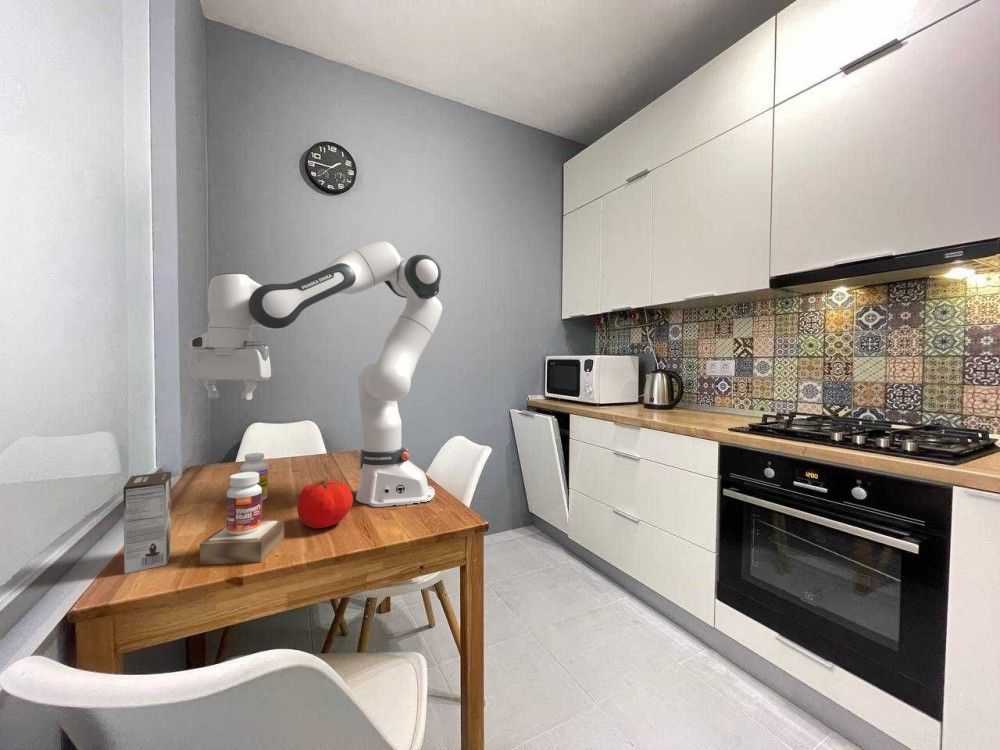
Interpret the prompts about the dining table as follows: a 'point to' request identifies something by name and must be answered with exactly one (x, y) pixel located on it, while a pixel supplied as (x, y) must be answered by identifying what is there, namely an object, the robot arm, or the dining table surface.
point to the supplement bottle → (257, 470)
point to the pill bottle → (244, 503)
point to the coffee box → (147, 521)
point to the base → (241, 544)
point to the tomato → (324, 503)
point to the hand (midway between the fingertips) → (230, 399)
